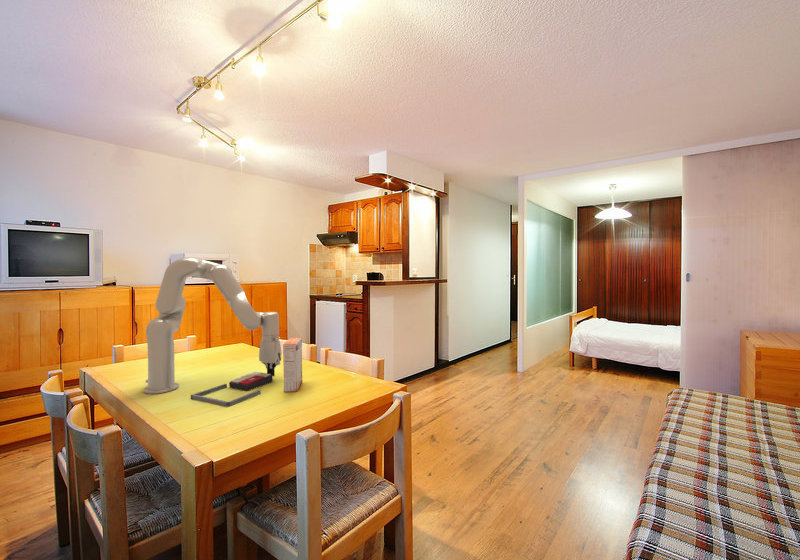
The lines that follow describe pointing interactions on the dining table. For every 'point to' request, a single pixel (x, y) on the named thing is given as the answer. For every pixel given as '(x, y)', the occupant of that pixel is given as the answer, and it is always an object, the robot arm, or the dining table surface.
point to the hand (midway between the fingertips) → (270, 376)
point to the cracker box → (292, 364)
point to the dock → (200, 397)
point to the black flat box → (250, 381)
